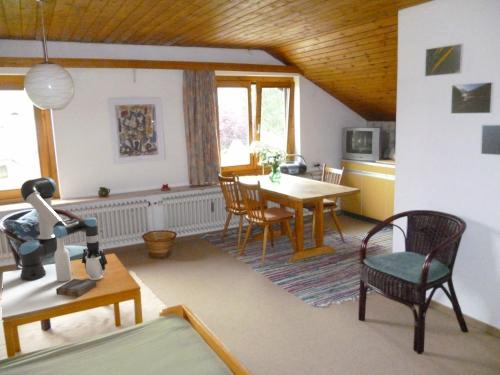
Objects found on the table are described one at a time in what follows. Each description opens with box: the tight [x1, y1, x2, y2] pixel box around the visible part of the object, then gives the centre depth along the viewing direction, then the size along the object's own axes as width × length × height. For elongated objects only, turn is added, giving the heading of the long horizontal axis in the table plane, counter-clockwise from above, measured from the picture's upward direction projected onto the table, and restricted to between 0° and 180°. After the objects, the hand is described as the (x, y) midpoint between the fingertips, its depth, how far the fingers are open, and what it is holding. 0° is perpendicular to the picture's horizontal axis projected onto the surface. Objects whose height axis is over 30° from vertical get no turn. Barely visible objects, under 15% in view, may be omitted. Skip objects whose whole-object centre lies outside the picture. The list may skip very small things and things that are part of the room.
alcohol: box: [53, 237, 73, 283], centre depth 279 cm, size 9×9×30 cm
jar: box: [85, 254, 104, 281], centre depth 281 cm, size 11×10×15 cm
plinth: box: [55, 278, 97, 298], centre depth 263 cm, size 16×16×4 cm
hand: (95, 273), depth 282 cm, fingers closed on jar, 10 cm apart
